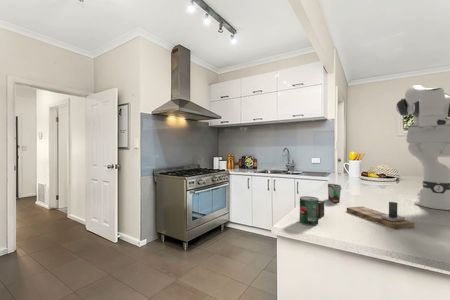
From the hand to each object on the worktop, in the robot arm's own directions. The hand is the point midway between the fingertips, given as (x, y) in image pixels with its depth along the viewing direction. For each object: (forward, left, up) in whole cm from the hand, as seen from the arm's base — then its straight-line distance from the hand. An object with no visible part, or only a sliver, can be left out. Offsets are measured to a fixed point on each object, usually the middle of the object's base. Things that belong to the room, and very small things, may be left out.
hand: (431, 152), depth 102 cm
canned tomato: (+38, -44, -31) cm, 66 cm away
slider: (+18, -14, -29) cm, 37 cm away
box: (+26, -44, -31) cm, 60 cm away
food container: (-12, -42, -31) cm, 54 cm away
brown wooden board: (+13, -20, -31) cm, 39 cm away
